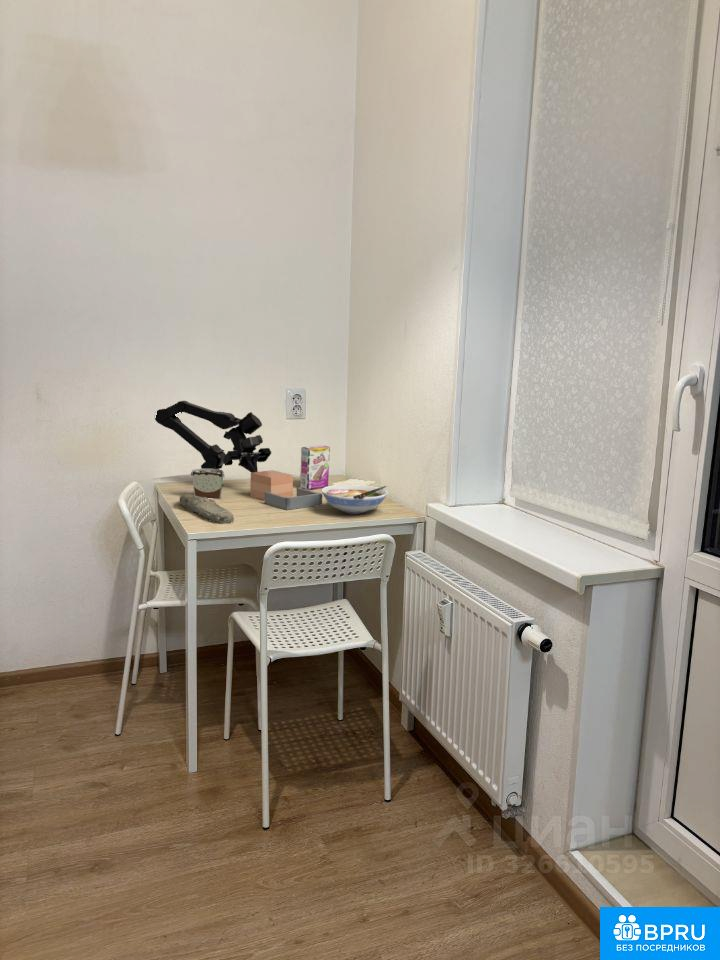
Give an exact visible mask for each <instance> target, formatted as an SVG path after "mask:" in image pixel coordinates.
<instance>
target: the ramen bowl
mask: <svg viewBox="0 0 720 960" xmlns="http://www.w3.org/2000/svg"><path fill="white" fill-rule="evenodd" d="M387 487H388V486H386V485H384V486H381V487H379V486H373V485H367V484H365V485H363V484H336V485H335V484H333V485H328V487H324V488H320V489H321V492H322V493H321V494H322V496H324V498H325V500H326V501H327V503H328V505H330V506H331V507H333V508H335V509H337V510H339V511H342V512H343V513H345V514H350V515H351V514H352V515H360V514H359V513H361V514H364V513H365V512H367V511H371V510H373V509H376V508H377V507H379V505H381V503H383V501H384V500H385V498H386V497H387V495H388V493H389V492H388V491H387V490H386V489H385V488H387Z"/></svg>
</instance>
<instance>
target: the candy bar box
mask: <svg viewBox="0 0 720 960" xmlns="http://www.w3.org/2000/svg"><path fill="white" fill-rule="evenodd" d="M330 451H331V447H330V446H327V445H311V446H310V445H309V446H302V447H301V451H300V452H301V453H300V454H301V455H300V475H299V488H302V489H306V490H310V491H312V490H318V489H323V488H324V487H328V486H329V473H330V472H329V471H330Z"/></svg>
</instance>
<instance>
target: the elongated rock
mask: <svg viewBox="0 0 720 960" xmlns="http://www.w3.org/2000/svg"><path fill="white" fill-rule="evenodd" d="M179 503H180V504H182V506H183V507H184V508H186V510H187V509H189V510H188V511H192V512H193V513H195V512H197V513H196V514H198V515H199V516H200V515H202V516H201V517H204V518H205V519H207V520H208V519H209V520H208V521H210V520H211V521H210V522H214V523H217V524H222V523H227V524H232V523H233V522H234V520H235V519H234V515H233V513H232V512H231V511H230V510H227V509H226V508H225V507H222V506H220V505H219V504H217V502H216V501H215V499H208V498H206V497H199V496H196V495H194V494H191V493H185V494H182V495H179ZM231 522H232V523H231Z"/></svg>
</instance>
